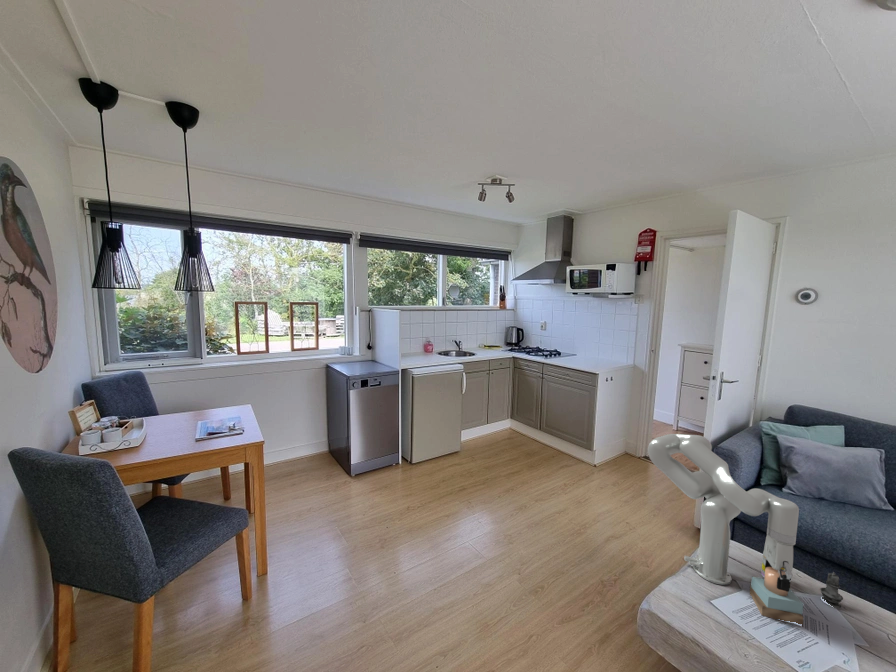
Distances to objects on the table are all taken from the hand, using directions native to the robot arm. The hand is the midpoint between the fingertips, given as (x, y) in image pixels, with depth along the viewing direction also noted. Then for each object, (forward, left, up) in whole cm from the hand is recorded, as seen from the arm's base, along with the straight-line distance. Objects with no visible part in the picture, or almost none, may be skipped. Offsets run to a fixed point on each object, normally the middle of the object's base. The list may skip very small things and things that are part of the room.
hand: (776, 580), depth 128 cm
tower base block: (0, 0, -11) cm, 11 cm away
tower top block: (0, 0, -7) cm, 7 cm away
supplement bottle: (+6, +19, -11) cm, 23 cm away
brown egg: (0, 0, -3) cm, 3 cm away
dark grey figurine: (+21, +13, -11) cm, 27 cm away
